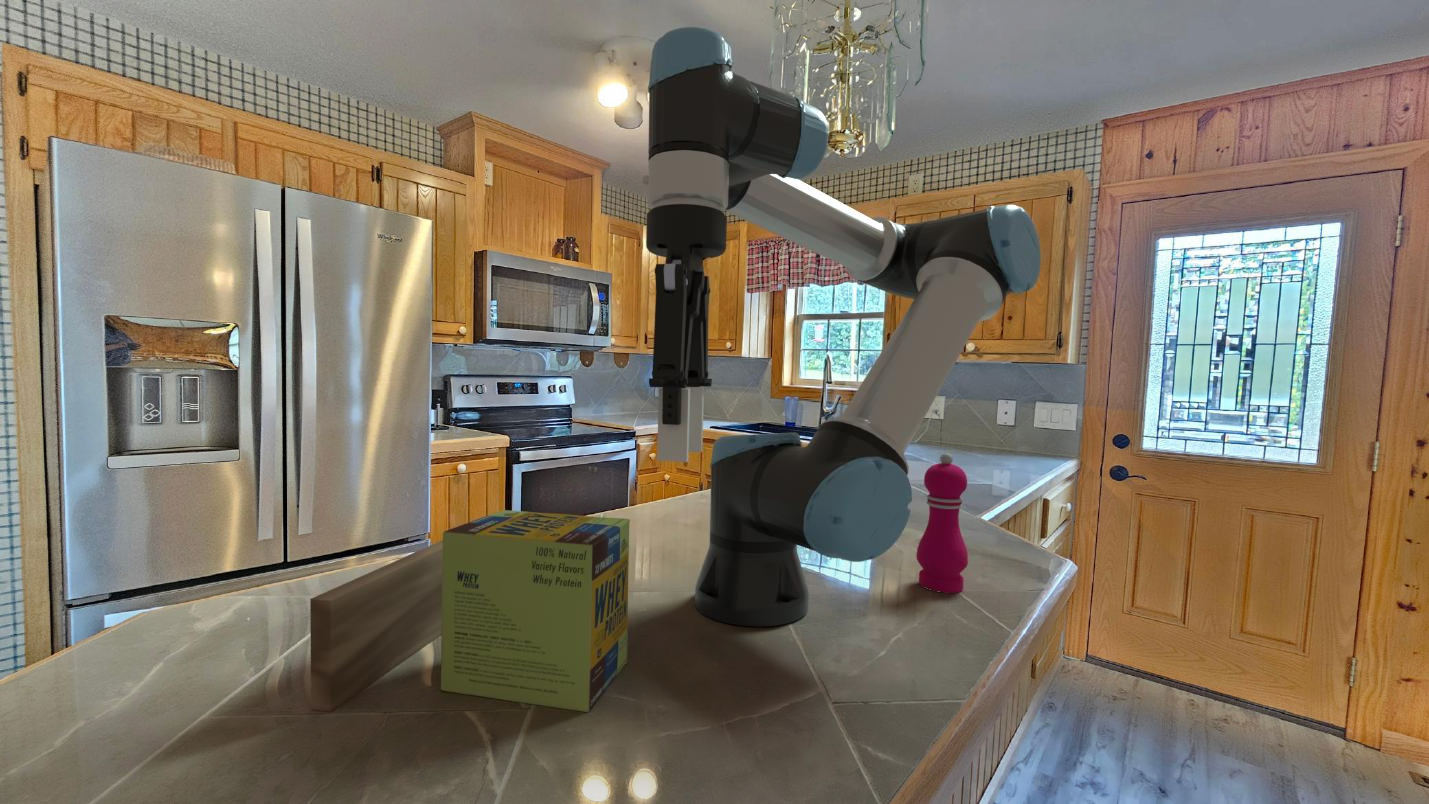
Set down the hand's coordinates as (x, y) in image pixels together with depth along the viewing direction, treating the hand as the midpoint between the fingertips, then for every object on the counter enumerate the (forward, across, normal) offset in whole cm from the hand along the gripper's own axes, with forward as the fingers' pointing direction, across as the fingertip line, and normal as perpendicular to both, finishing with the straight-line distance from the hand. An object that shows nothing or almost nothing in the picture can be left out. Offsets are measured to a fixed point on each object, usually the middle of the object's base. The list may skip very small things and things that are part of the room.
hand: (681, 455), depth 60 cm
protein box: (+23, 0, -14) cm, 27 cm away
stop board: (+23, 0, -30) cm, 38 cm away
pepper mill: (+23, -38, +32) cm, 55 cm away
